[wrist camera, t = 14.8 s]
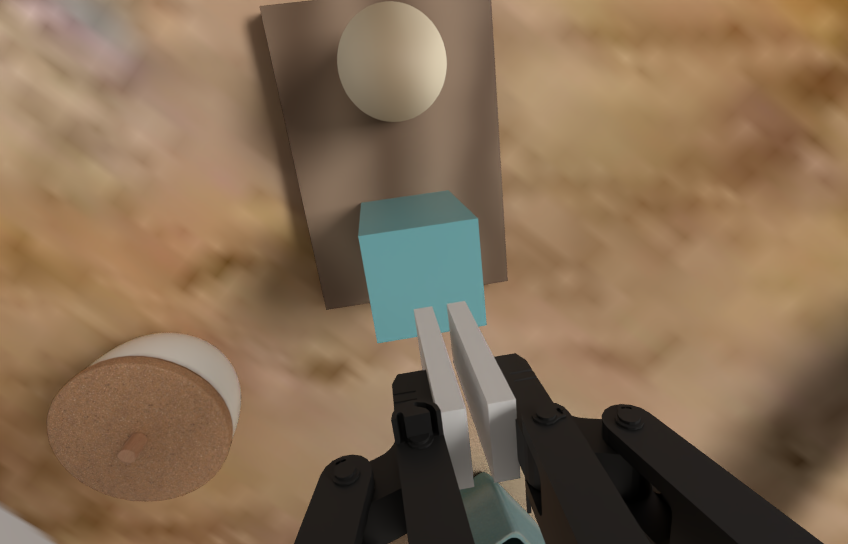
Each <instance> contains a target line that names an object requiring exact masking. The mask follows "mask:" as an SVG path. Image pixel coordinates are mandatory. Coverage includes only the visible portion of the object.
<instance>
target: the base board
mask: <svg viewBox="0 0 848 544" xmlns="http://www.w3.org/2000/svg"><path fill="white" fill-rule="evenodd" d="M385 1H394V2H401V3H405V4H408V5H410V6H412V7H414V8H416V9H418V10H419V11H421V12H422V13H423V14H425V15H426V16H427V17H428V18H429V19H430V20H431V21H432V23H433V24H434V25H435V27H436V28H437V30H438V32H439V34H440V36H441V38H442V40H443V43H444V47H445V51H446V57H447V69H446V76H445V81H444V84H443V87H442V89H441V91H440V93H439V95H438V97H437V98H436V100H435V101H434V102H433V104H432V105H431V106H430V107H429V108H428V109H427V110H426V111H424V112H423V113H422V114H420V115H418V116H416V117H414V118H412V119H409V120H406V121H401V122H387V121H382V120H379V119H376V118H373V117H371V116H369V115H367V114H366V113H364V112H363V111H361V110H360V109H359V108H358V107H357V106H356V105H355V104H354V103H353V102H352V101H351V99H350V98H349V97H348V95H347V94H346V92H345V90H344V88H343V86H342V83H341V80H340V77H339V73H338V66H337V53H338V46H339V42H340V39H341V36H342V34H343V31H344V30H345V28H346V26H347V25H348V23H349V22H350V21H351V19H352V18H353V17H354V16H355V15H356V14H357V13H359V12H360V11H361V10H363V9H364V8H366V7H368V6H370V5H373V4H375V3H379V2H385ZM260 11H261V15H262V20H263V24H264V29H265V34H266V38H267V43H268V47H269V52H270V56H271V61H272V65H273V70H274V74H275V79H276V83H277V88H278V92H279V97H280V102H281V106H282V111H283V115H284V120H285V124H286V129H287V133H288V138H289V142H290V147H291V151H292V156H293V161H294V165H295V170H296V174H297V179H298V183H299V188H300V192H301V197H302V201H303V206H304V210H305V215H306V219H307V224H308V229H309V233H310V238H311V242H312V247H313V251H314V256H315V260H316V265H317V269H318V274H319V278H320V283H321V288H322V292H323V297H324V301H325V306H326V310H329V309H335V308H341V307H347V306H354V305H360V304H366V303H370V299H369V293H368V288H367V282H366V277H365V271H364V266H363V260H362V255H361V249H360V243H359V238H358V233H359V221H360V210H361V203H363V202H370V201H377V200H384V199H391V198H398V197H405V196H412V195H419V194H426V193H433V192H440V191H446V190H449V191H450V192H451V193H452V194H453V195H454V196H455V197H456V198H457V199H458V200H459V201H460V202H461V203H462V204H463V205H464V206H466V207H467V208H468V209H469V210H470V211H471V212H472V213H473V214H474V215H475V216H476V217H477V218H478V224H479V237H480V249H481V261H482V274H483V285H485V284H491V283H497V282H504V281H508V278H507V261H506V244H505V227H504V210H503V193H502V176H501V159H500V142H499V125H498V108H497V92H496V75H495V58H494V41H493V24H492V7H491V0H311V1H302V2H293V3H284V4H275V5H266V6H260Z"/></svg>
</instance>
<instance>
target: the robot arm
mask: <svg viewBox="0 0 848 544" xmlns="http://www.w3.org/2000/svg"><path fill="white" fill-rule="evenodd" d="M447 312H448V320H449V329H450V338H451V347H452V355H453V363H454V366H455V369H456V371H457V374H458V377H459V380H460V383H461V386H462V389H463V392H464V395H465V398H466V401H467V404H468V407H469V410H470V412H471V415H472V418H473V421H474V424H475V427H476V430H477V433H478V436H479V439H480V442H481V445H482V448H483V451H484V453H485V456H486V459H487V462H488V465H489V468H490V471H491V474H492V477H493V480H494V483H497V482H502V481H508V480H513V479H518V478H520V466H521V469H522V471H523V473H524V475H525V486H526V504H527V513H531V506H532V509H533V512H534V514H535V517H536V520H537V522H538V525H539V528H540V530H541V533H542V536H543V538H544V541H545V544H824V543H822V542H821V541H820V540H818V539H817V538H816V537H814V536H813V535H812V534H810V533H809V532H808V531H806V530H805V529H804V528H802V527H801V526H800V525H798V524H797V523H796V522H794V521H793V520H792V519H790V518H789V517H788V516H786V515H785V514H784V513H782V512H781V511H780V510H778V509H777V508H776V507H774V506H773V505H772V504H770V503H769V502H768V501H766V500H765V499H764V498H762V497H761V496H760V495H758V494H757V493H756V492H754V491H753V490H752V489H750V488H749V487H748V486H746V485H745V484H744V483H742V482H741V481H740V480H738V479H737V478H736V477H734V476H733V475H732V474H730V473H729V472H728V471H726V470H725V469H724V468H722V467H721V466H720V465H718V464H717V463H716V462H714V461H713V460H712V459H710V458H709V457H708V456H706V455H705V454H704V453H702V452H701V451H700V450H698V449H697V448H696V447H694V446H693V445H692V444H690V443H689V442H688V441H686V440H685V439H684V438H682V437H681V436H680V435H678V434H677V433H676V432H674V431H673V430H672V429H670V428H669V427H668V426H666V425H665V424H664V423H662V422H661V421H660V420H658V419H657V418H656V417H654V416H653V415H652V414H650V413H649V412H647V411H645V410H644V409H642V408H639V407H636V406H632V405H624V404H619V405H613V406H610V407H609V408H607V409H605V410H604V412H603V414H602V419H587V418H578V417H574V416H571V414H570V413H569V412H568V411H567V410H566V409H565V408H564V407H563V406H561V405H559V404H557V403H553V401H552V400H551V398H550V397H549V395H548V394H547V392H546V391H545V389H544V387H543V386H542V384H541V383H540V381H539V380H538V378H537V377H536V375H535V373H534V372H533V371H532V369H531V367H530V366H529V364H528V362H527V361H526V360H525V359H523V358H522V357H520V356H519V355H517V354H516V353H514V354H508V355H503V356H497V357H494V356H493V354H492V352H491V350H490V348H489V346H488V344H487V343H486V341H485V339H484V337H483V335H482V333H481V331H480V329H479V327H478V325H477V323H476V321H475V319H474V317H473V315H472V313H471V312H470V310H469V308H468V306H467V304H466V302H465V301H461V302H455V303H449V304H447ZM414 315H415V322H416V329H417V336H418V343H419V350H420V357H421V364H422V370H421V371H416V372H410V373H404V374H398V375H397V376H396V378H395V380H394V382H393V384H392V389H393V401H394V412H393V413H392V419H391V421H392V427H393V432H394V438H395V442H394V445H393V446H392V447H391V448H390V450H389V451H387V452H386V453H385V454H384V455H382V456H380V457H378V458H376V459H374V460H372V461H370V462H369V461H368V460H367V459H366V458H364V457H362V456H359V455H348V456H342V457H340V458H338V459H336V460H334V461H332V462H331V463H330V464H329V465H328V466H326V467H325V469H324V470H323V472H322V474H321V475H320V478H319V481H318V483H317V486H316V488H315V491H314V494H313V496H312V499H311V501H310V504H309V506H308V509H307V512H306V514H305V517H304V519H303V522H302V524H301V527H300V530H299V532H298V535H297V537H296V540H295V543H294V544H388V543H390V542H392V541H394V540H396V539H398V538H399V537H401V536H403V535H405V534H407V535H408V543H409V544H475V542H474V539H473V535H472V532H471V528H470V525H469V521H468V518H467V514H466V511H465V507H464V504H463V500H462V497H461V493H460V490H461V489H466V488H471V487H474V479H473V470H472V460H471V451H470V441H469V432H468V423H467V413H466V407H465V404H464V401H463V398H462V395H461V392H460V389H459V386H458V383H457V380H456V377H455V374H454V371H453V368H452V364H451V361H450V358H449V355H448V352H447V349H446V346H445V343H444V340H443V337H442V334H441V331H440V328H439V325H438V322H437V319H436V316H435V313H434V310H433V307H432V306H430V307H424V308H418V309H414Z"/></svg>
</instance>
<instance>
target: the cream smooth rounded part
mask: <svg viewBox="0 0 848 544" xmlns="http://www.w3.org/2000/svg"><path fill="white" fill-rule="evenodd" d="M337 66H338V73H339V77H340V80H341V83H342V86H343V88H344V90H345V92H346V94H347V95H348V97H349V98H350V99H351V101H352V102H353V103H354V104H355V105H356V106H357V107H358V108H359V109H360V110H361V111H363V112H364V113H366V114H367V115H369V116H371V117H373V118H376V119H379V120H382V121H387V122H401V121H406V120H409V119H412V118H414V117H416V116H418V115H420V114H422V113H423V112H424V111H426V110H427V109H428V108H429V107H430V106H431V105H432V104H433V102H434V101H435V100H436V98H437V97H438V95H439V93H440V91H441V89H442V87H443V84H444V81H445V76H446V69H447V57H446V51H445V47H444V43H443V40H442V38H441V36H440V34H439V32H438V30H437V28H436V27H435V25H434V24H433V23H432V21H431V20H430V19H429V18H428V17H427V16H426V15H425V14H423V13H422V12H421V11H419V10H418V9H416V8H414V7H412V6H410V5H408V4H405V3H401V2H394V1H385V2H379V3H375V4H373V5H370V6H368V7H366V8H364V9H363V10H361V11H360V12H359V13H357V14H356V15H355V16H354V17H353V18H352V19H351V21H350V22H349V23H348V25H347V26H346V28H345V30H344V31H343V34H342V36H341V39H340V42H339V46H338V53H337Z"/></svg>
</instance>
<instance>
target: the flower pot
mask: <svg viewBox="0 0 848 544" xmlns="http://www.w3.org/2000/svg"><path fill="white" fill-rule="evenodd" d="M473 479H474V487H471V488H466V489H461V490H460V493H461V497H462V500H463V504H464V507H465V511H466V514H467V518H468V521H469V525H470V528H471V532H472V535H473V539H474V542H475V544H545V541H544V538H543V536H542V533H541V530H540V528H539V526H538V525H537V523H536V522H535V521H534V520H533V519H532V517H531V516H530V515H529V514H528V513H527V512H526V511H525V510H524V509H523V508H522V507H521V506H520V505H519V504H518V503H517V502H516V501H515V500H514V499H513V498H512V497H511V496H510V495H509V494H508V493H507V492H506V491H505V490H504V488H503V487H502V486H501V485H500V484H499V483H498V482H497V483H494V480H493V477H492V476H490V475H489V474H487V473H485V472H482V473H480V474H478V475H477V476H475V477H474V478H473Z"/></svg>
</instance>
